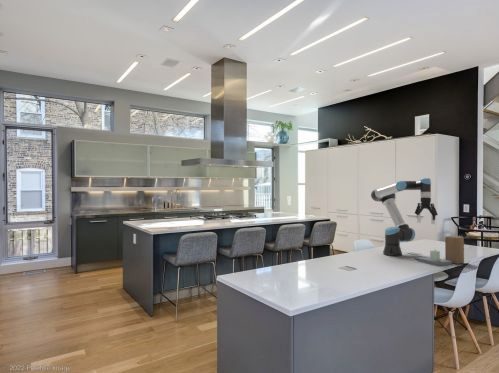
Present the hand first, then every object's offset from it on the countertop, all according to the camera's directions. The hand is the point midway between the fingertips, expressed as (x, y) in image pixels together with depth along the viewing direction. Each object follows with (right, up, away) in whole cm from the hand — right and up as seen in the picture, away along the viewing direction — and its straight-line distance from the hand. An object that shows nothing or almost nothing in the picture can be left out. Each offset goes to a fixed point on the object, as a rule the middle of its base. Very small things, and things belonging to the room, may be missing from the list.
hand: (425, 223), depth 278 cm
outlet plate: (-2, -29, -16) cm, 33 cm away
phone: (-5, -29, -2) cm, 29 cm away
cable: (+2, -29, +3) cm, 29 cm away
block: (+14, -29, -15) cm, 35 cm away
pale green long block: (-3, -29, -18) cm, 34 cm away
